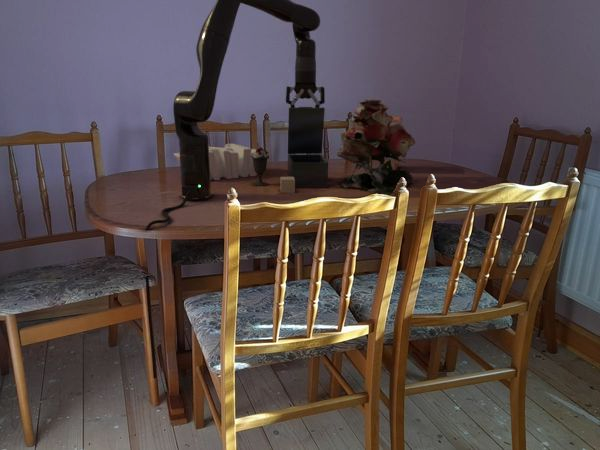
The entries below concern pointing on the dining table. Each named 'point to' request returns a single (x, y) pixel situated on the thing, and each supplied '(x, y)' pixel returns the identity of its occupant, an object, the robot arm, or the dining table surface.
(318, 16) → the robot arm
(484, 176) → the dining table surface
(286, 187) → the block
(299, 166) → the chest
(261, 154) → the sundae
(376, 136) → the rose bouquet
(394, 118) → the cracker box
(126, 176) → the dining table surface
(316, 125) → the lid
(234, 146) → the wavy white extrusion
